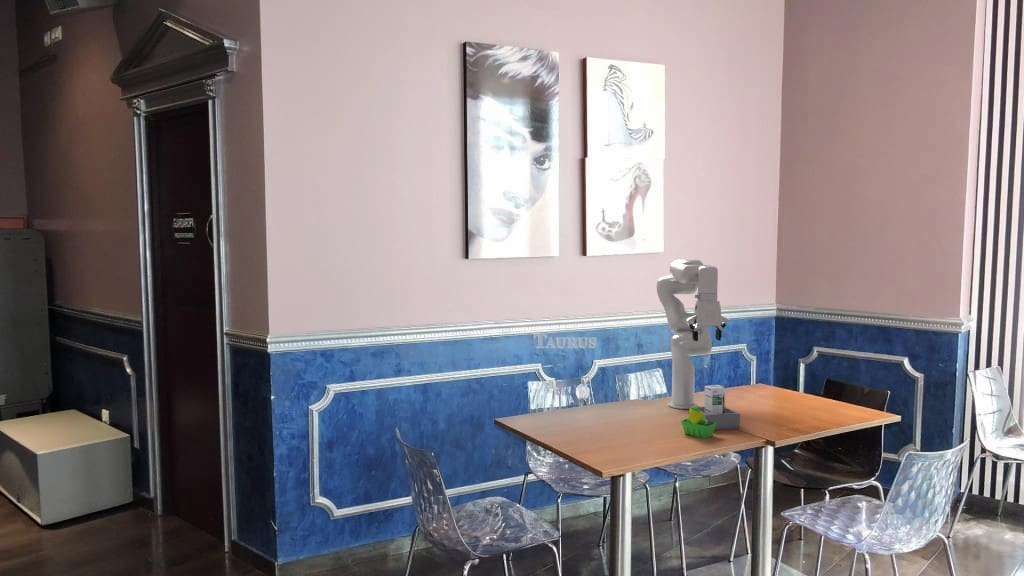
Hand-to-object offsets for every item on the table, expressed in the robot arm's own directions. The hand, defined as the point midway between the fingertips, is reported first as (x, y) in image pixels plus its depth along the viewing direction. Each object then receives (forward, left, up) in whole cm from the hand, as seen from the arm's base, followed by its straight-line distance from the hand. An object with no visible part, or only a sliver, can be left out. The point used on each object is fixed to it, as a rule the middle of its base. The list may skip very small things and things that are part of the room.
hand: (706, 340), depth 317 cm
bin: (+8, 0, -32) cm, 33 cm away
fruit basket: (+21, -13, -33) cm, 41 cm away
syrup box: (+8, 0, -32) cm, 32 cm away
